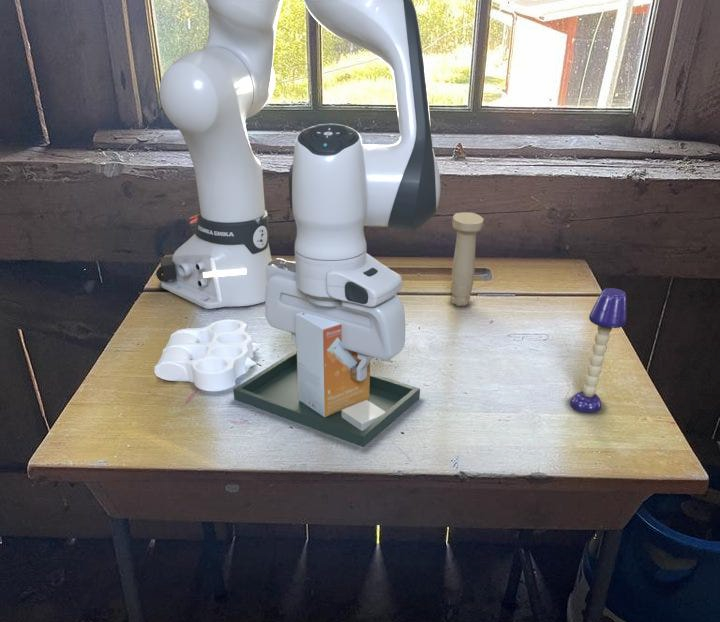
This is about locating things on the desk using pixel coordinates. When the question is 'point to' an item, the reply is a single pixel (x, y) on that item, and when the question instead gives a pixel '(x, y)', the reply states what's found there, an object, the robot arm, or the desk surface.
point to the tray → (281, 398)
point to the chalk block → (362, 414)
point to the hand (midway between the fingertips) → (333, 370)
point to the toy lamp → (600, 345)
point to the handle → (464, 256)
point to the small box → (326, 366)
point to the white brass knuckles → (208, 355)
